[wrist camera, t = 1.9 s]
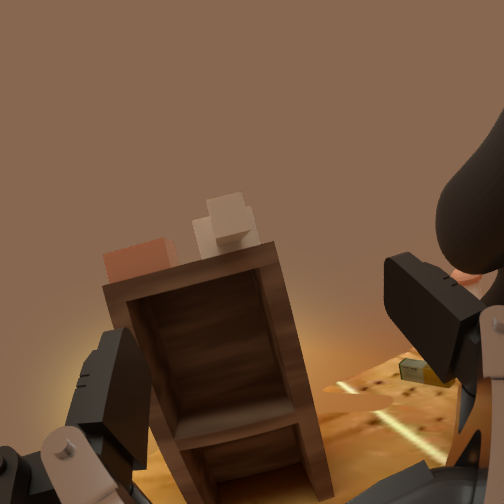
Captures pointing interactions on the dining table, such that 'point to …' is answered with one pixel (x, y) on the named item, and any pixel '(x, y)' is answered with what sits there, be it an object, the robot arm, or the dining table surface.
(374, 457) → the dining table surface
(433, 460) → the dining table surface
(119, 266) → the terracotta block
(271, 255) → the walnut stand
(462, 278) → the pepper shaker
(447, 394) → the dining table surface
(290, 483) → the dining table surface
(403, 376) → the medication box
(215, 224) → the beige long block
